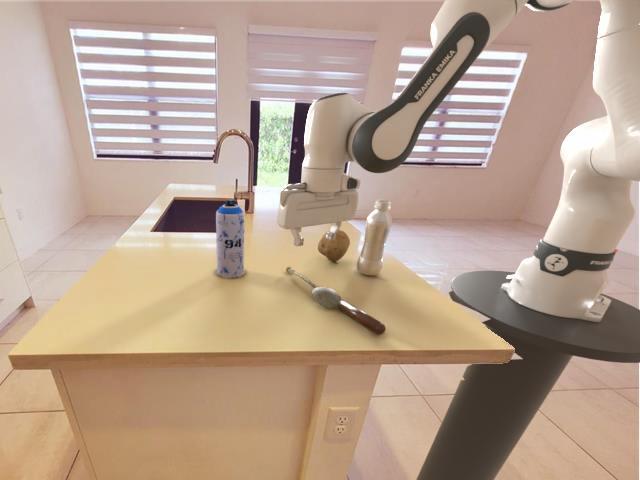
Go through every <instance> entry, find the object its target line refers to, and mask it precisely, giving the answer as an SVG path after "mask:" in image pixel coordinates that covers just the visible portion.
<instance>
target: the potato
mask: <svg viewBox="0 0 640 480" xmlns="http://www.w3.org/2000/svg"><path fill="white" fill-rule="evenodd" d="M329 231H330V230H328V231H327V232H329ZM350 245H351V239H350V236H349V235H348V234H347V233H346V232H345V231H344V230H342V229H339V230H338V231H337V233H336V236H335V240H331V241H329V240H327V239H326V232H324V234H323V235H322V236H321V238H320V240H319V241H318V244H317V250H318V253H319V254H321V255H323V256H324V257H325V258H326V259H327V260H328V261H330V262H334V263H335V262H338V261H339V260H341V259H342V258H343V257H344V256H345V255H346V253H347V252H348V249H349V248H350Z"/></svg>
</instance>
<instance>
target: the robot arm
mask: <svg viewBox="0 0 640 480" xmlns="http://www.w3.org/2000/svg"><path fill="white" fill-rule="evenodd" d="M576 1H577V0H444V2H443V4H442V5H441V7H440V8H439V10H438V12H437V13H436V16H435V17H434V19H433V21H432V23H431V26H430V41H431V44H432V45H431V46H432V48H431V51H430V52H429V54H428V56H427V58H426V59H425V60H424V62H423V63H422V64H421V66H420V67H419V68H418V70H416V72H415V73H414V75H413V76H412V77H411V78H410V80H408V83H406V85H405V87H403V89H402V90H401V91H400V93H399V94H398V95H397V96H396V97H395V99H394V100H393V101H392V102H391V103H389V104H388V105H387V106H385V107H383V108H382V109H380V110H378V111H377V112H376V111H375V110H373V109H371V108H368V107H366V106H365V105H363V104H361V103H360V102H359V101H357V100H356V99H355V98H354V97H353V96H352V95H351V93H348V92H336V93H333V94H327V95H324V96H322V97H319V98H318V99H316V100H315V101H314V102H313V103H312V104H311V105H310V107H309V110H308V113H307V118H306V123H305V129H304V130H305V131H304V139H303V140H304V141H303V143H304V144H303V147H304V159H303V162H302V164H301V166H302V167H301V179H300V183H299V182H298V183H288V184H286V186H285V187H283V188H282V190H281V191H280V193H279V205H278V210H277V217H276V223H277V225H278V226H279V227H280V228H282V229H284V230H290V233H291V234H292V237H293V245H294V246H295V247H302V246H304V242H305V238H304V237H301V235H300V233H301V232H302V228H308V227H314V226H320V225H321V226H322V225H327V224H330V225H331V227H330V229H329V230H328V231H329V232H328V231H325V233H326V239H327V240H329V241H331V240H335V236H336V233H337V231H338V230H340V228H341V226H342V222H347V221H349V222H350V221H353V219H354V218H355V216H356V214H357V211H358V210H357V209H358V203H359V192H358V189H360V187H361V179H360V178H357V177H355V176H352V175H350V174H347V173H345V167H346V163H348V162H352V163H353V162H354V163H355V164H357V165H359V166H360V167H361V168H362V169H363V170H365V171H367V172H369V173H373V174H383V173H384V174H385V173H388V172H391V171H393V170H395V169H397V168H398V167H400V166H401V165H402V164H403V163H404V162H406V160H407V159H408V158H409V157H410V155H412V153H413V150H414V148H415V147H416V143H417V141H418V139H419V137H420V135H421V133H422V132H421V131H422V130H423V128H424V127H425V125H426V123H427V122H428V120H429V118H431V116H432V115H433V113H434V112H435V111H436V110H437V109H438V108H439V106H440V105H441V104H442V102H443V101H444V100H445V98H446V97H447V96H448V95H449V94H450V93H451V91H452V90H453V89H454V87H456V85H457V84H458V83H459V81H461V79H462V77H464V75H466V73H467V72H468V70H469V69H470V68H471V66H472V65H473V63H474V62H475V61H476V60H477V59H478V58H479V57H480V55H481V54H482V53H483V52H484V51H485V50H486V49H487V48H488V47H489V46H490V45H491V44H492V43H493V42H494V41H495V39H497V37H498V36H500V34H501V33H502V32H503V31H504V30H505V29H506V28H507V26H509V24H510V23H511V22H512V21H513V20H514V19H515V18H516V16H517V15H518V14H519V13H520V11H521V10H522V9H523V8H524V7H525V6H526V7H527V9H529V10H532V11H535V12H550V11H555V10H559V9H561V8H564V7H566V6H568V5H569V4H572V3H573V2H576ZM598 1H599V3H600V6H601V15H600V21H599V25H598V33H597V38H598V39H597V42H596V51H595V60H594V67H593V68H594V70H593V77H592V88H593V90H594V93H595V94H596V95H597V96H598V97H599V99H601V101H602V102H603V106H604V108H605V113H606V115H604V116H600V117H598V118H595V119H592V120H589V121H587V122H584V123H581V124H580V125H579V126H577V127H575V128H574V129H573V130H572V131H570V133H569V134H568V135H566V137H565V138H564V140H563V141H562V144H561V147H560V150H559V153H560V156H559V157H560V159H561V162H562V164H563V179H562V185H561V186H562V187H561V192H560V198H559V201H558V204H557V207H556V210H555V213H554V215H553V217H552V219H551V222H550V224H549V225H548V227H547V230H546V231H545V234H544V236H543V237H542V238H541V239H540V240H539V241H538V243H537V244H536V246H535V250H534V252H533V254H532V255H533V256H531V257H528V258H525V259H523V260H522V261H521V262H520V264H519V266H518V268H517V269H516V271H515V275H509V276H507V279H509V278H513V279H512V280H511V282H510V283H504V284H503V285H502V286H501V288H502V289H503V290H505V291H506V292H507V293H508V295H509V297H510V298H511V299H513V300H514V301H516V302H517V303H519V304H521V305H523V306H525V307H528V308H530V309H533V310H536V311H539V312H542V313H546V314H550V315H554V316H559V317H565V318H576V319H583V320H587V321H592V322H600V321H601V320H602V318H603V316H604V314H605V312H606V311H607V309H608V307H609V305H610V303H611V300H610V299H608V298H606V297H604V296H602V295H600V294H601V293H602V294H603V291H604V290H605V288H606V287H607V285H608V283H609V281H610V279H609V275H608V272H607V270H608V269H609V268H610V266H611V264H612V263H613V262H614V259H615V256H616V254H617V253H618V249H617V247H618V245H619V243H620V242H621V240H622V239H623V237H624V235H625V233H626V232H627V230H628V229H629V227H630V225H631V224H632V221H633V220H634V218H635V216H636V215H635V214H636V212H635V211H636V210H635V207H634V205H633V203H632V201H631V187H632V186H631V185H632V181H633V182H640V0H598Z"/></svg>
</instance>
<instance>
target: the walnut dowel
mask: <svg viewBox="0 0 640 480" xmlns="http://www.w3.org/2000/svg"><path fill="white" fill-rule="evenodd" d="M337 309H339V310H340V311H341V312H342V313H344V314H345V315H347V316H348V317H350V318H351V319H352V320H355V321H356V322H358V323H359V324H360V325H362V326H363V327H365V328H366V329H368V330H370V331H371V332H373V333H374V334H376V335H383V334H385V332H386V330H387V327H386V324H384V323H383V322H381V321H379V320H378V319H377V318H375V317H373V316H372V315H370V314H368V313H366V312H365V311H363V310H362V309H360V308H359V307H357V306H355V305H354V304H352V303H350V302H348V301H347V300H344V299H342V301H340V302H339V303H338V308H337Z"/></svg>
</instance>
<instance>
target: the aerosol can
mask: <svg viewBox="0 0 640 480" xmlns="http://www.w3.org/2000/svg"><path fill="white" fill-rule="evenodd" d="M235 202H236V201H235V199H225V204H223V205H221V206H220V207H219V208H218V209H217V210H216V212H215V230H216V231H215V235H216V274H217V276H219V277H222V278H225V279H235V278H240V277H242V276H243V275H245V225H246V223H245V222H246V221H245V219H246V218H245V217H246V215H245V211H244V210H243V209H242V207H241V206H239V205H238V204H236V203H235Z"/></svg>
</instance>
